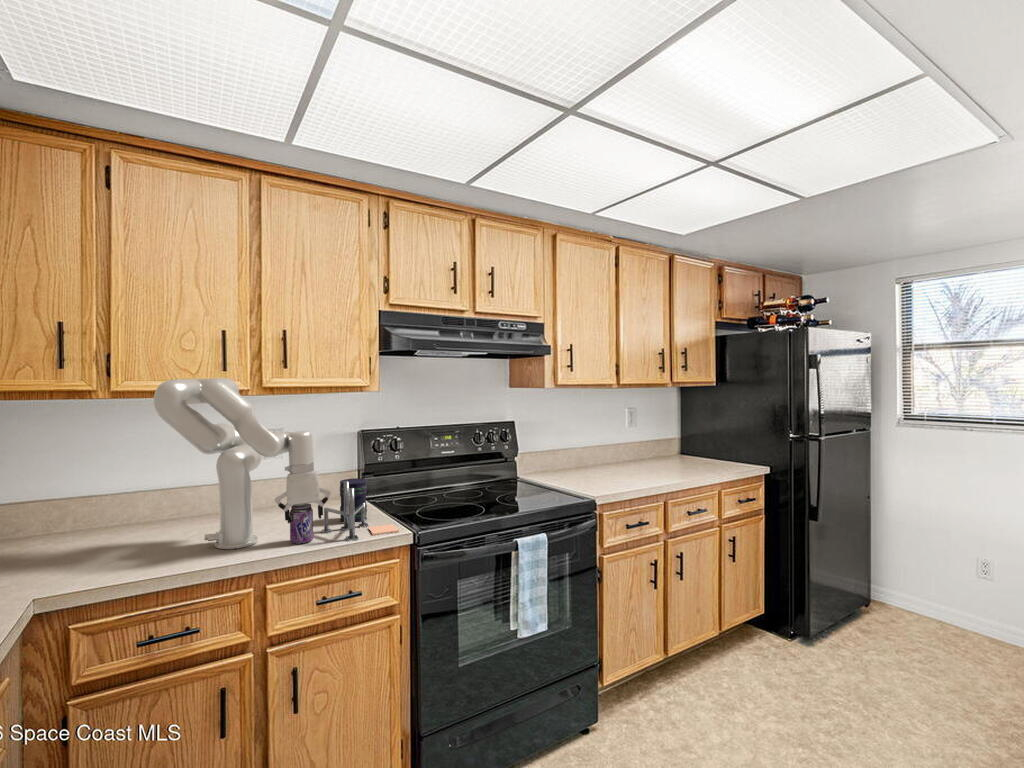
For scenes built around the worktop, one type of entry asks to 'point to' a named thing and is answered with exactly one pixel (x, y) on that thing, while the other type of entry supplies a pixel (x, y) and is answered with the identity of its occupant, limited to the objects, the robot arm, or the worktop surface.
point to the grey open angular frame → (347, 513)
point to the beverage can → (301, 523)
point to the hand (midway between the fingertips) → (304, 520)
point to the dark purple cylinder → (355, 496)
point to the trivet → (383, 529)
